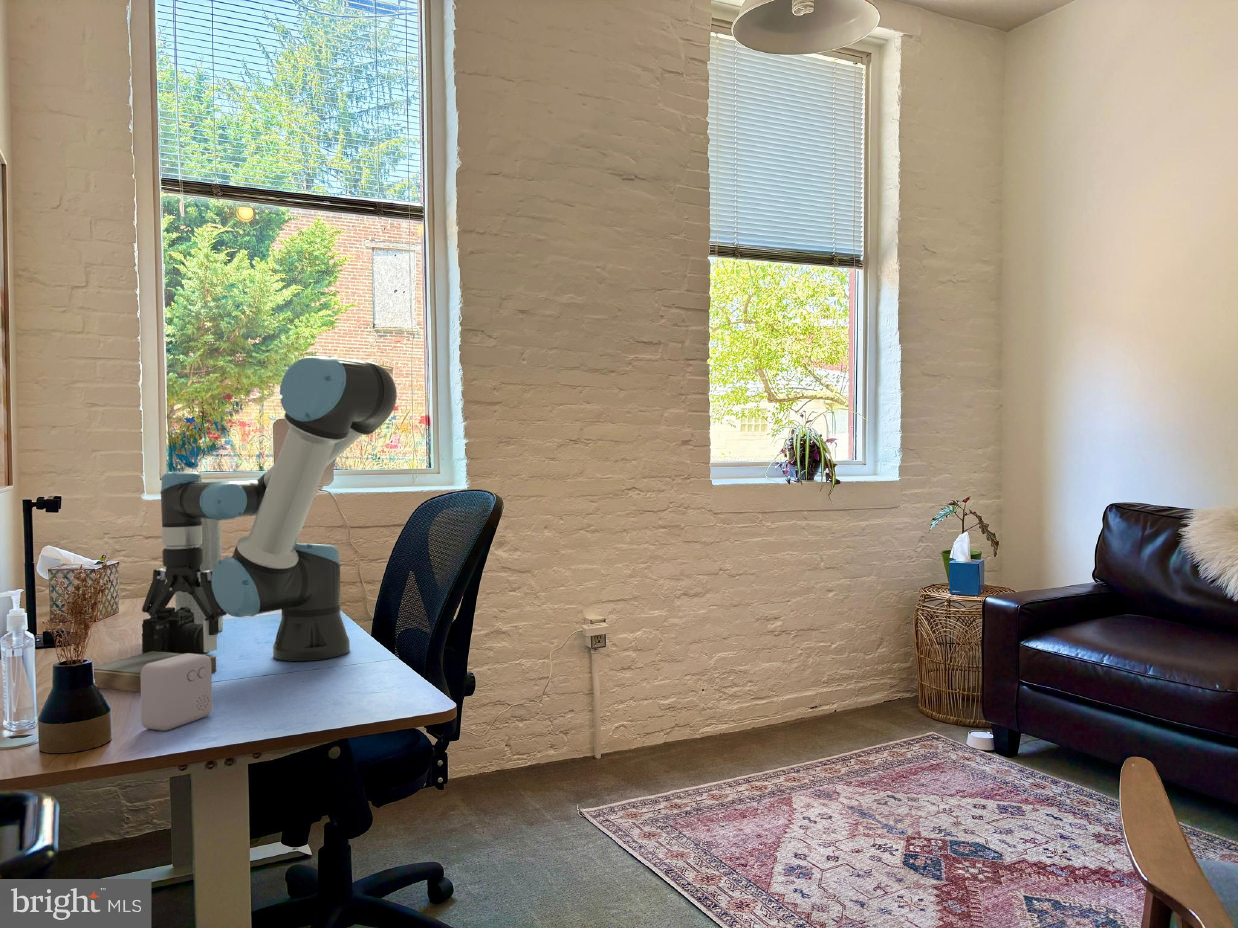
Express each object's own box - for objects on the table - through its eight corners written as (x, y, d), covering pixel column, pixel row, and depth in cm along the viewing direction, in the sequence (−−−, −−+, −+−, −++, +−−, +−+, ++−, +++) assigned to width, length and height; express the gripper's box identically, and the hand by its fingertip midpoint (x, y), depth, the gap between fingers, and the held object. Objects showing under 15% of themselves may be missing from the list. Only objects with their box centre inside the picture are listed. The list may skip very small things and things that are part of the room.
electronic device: (164, 734, 135) (163, 667, 135) (141, 730, 137) (140, 665, 137) (216, 715, 144) (215, 653, 144) (194, 712, 146) (193, 651, 146)
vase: (206, 636, 207) (203, 518, 206) (166, 635, 208) (164, 518, 208) (231, 627, 217) (229, 515, 216) (193, 627, 218) (191, 515, 218)
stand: (216, 670, 174) (215, 655, 174) (146, 692, 159) (146, 675, 159) (152, 665, 179) (152, 650, 179) (80, 685, 164) (79, 668, 164)
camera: (182, 666, 179) (181, 615, 179) (134, 664, 181) (133, 614, 181) (225, 650, 193) (224, 603, 192) (180, 648, 194) (179, 602, 194)
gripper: (243, 546, 186) (245, 648, 186) (151, 543, 194) (153, 641, 195) (216, 550, 179) (218, 656, 179) (121, 546, 187) (123, 648, 188)
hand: (184, 648), depth 187 cm, fingers open, 13 cm apart
